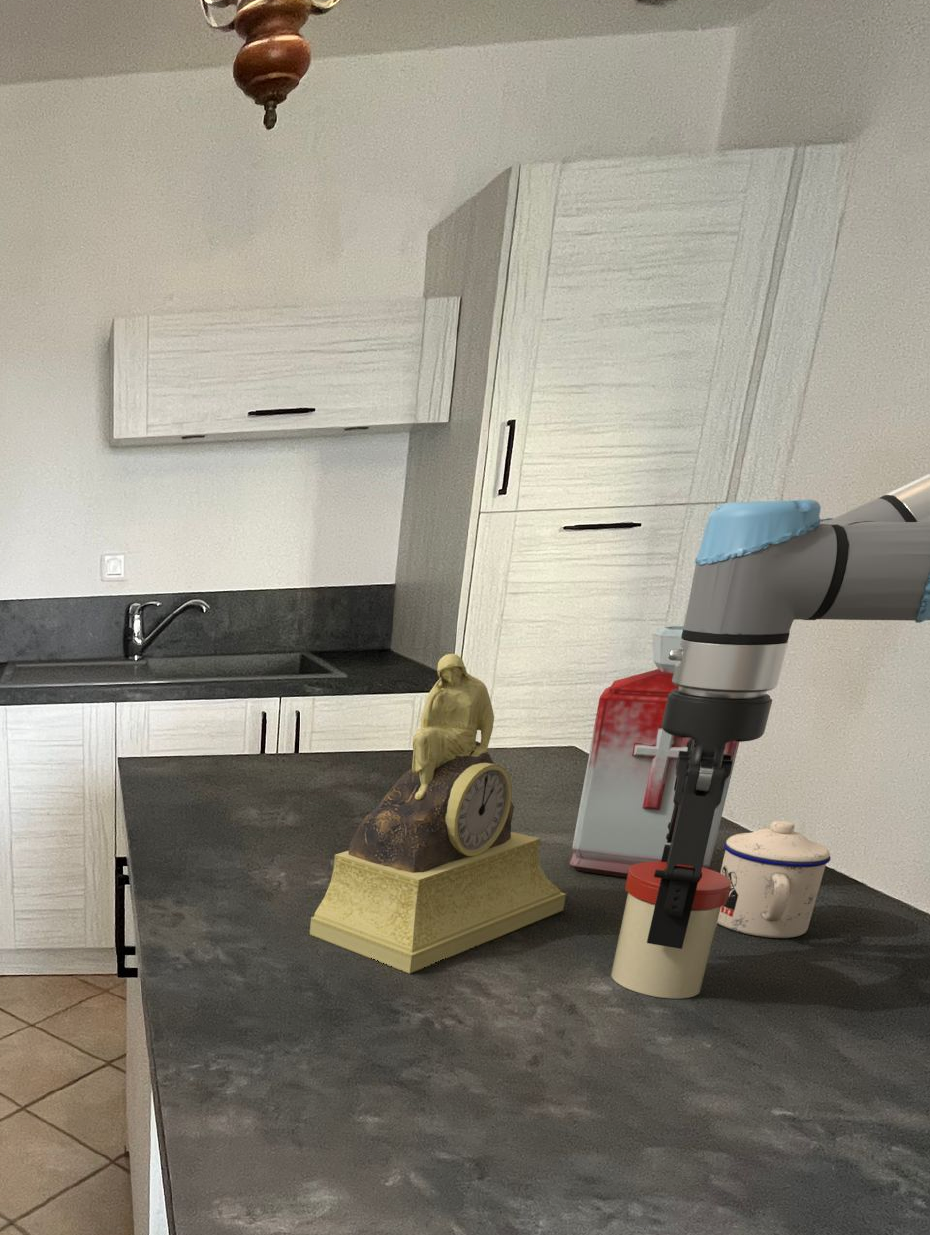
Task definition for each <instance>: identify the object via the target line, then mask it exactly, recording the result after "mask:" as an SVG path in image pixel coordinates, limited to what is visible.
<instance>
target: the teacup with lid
mask: <svg viewBox="0 0 930 1235" xmlns="http://www.w3.org/2000/svg"><path fill="white" fill-rule="evenodd" d="M723 848H724V850H725V851H724V854H723V859H722V863H721V867H720V872H719V873H721V874H723V875H725V876H726V877H728V878H729V879H730V881H731V886H730V887H731V890H730V894H729V898H728V900H727V902H726V904H725V905H723V906H721V909H720V913H719V917H718V921H717V925H720V926H721V927H723V928H726V929H728V930H730V931H734V932H737V933H740V934H745V935H750V936H753V937H759V938H769V939H792V938H796V937H800V936H802V935H804V934H805V933H807V931H808V930H809V926H810V922H811V918H812V915H813V912H814V908H815V905H816V901H817V897H818V894H819V890H820V888H821V883H822V879H823V877H824V873H825V869H826V866H827V864H829V862H830V861H831V853H830V850H829V849H828V848H827V847H826V846H824V845H823V844H821V843H818V842H816V841H814V840H810V839H808V838H807V837H806V836H805V835H803V834H802V833H800V832H797V831H795V824H794V823H793V822H791V821H787V820H774V821H772V822H771V823H770V826H769V828H768V827H767V828H762V829H757V830H755V831H754V830H753V831H752V832H741V833H737V834H734V835H731V836H730V837H728V838H727V839H726V840H725V842H724V844H723Z"/></svg>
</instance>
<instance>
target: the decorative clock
mask: <svg viewBox="0 0 930 1235" xmlns="http://www.w3.org/2000/svg"><path fill="white" fill-rule="evenodd" d="M436 672H437V676H438V678H439V679H438V680H437V681H436V682H435V684H434V685H433V686H432V688H431V689H430V691H429V693H428V695H427V697H426V700H425V703H424V706H423V709H422V712H421V715H420V728H419V729H418V730H417V731H416V732H415V733H414V735H413V738H412V750H413V751H412V752H413V754H412V765H411V767H410V769H409V770H407V771H406V772H404V773H403V774H402V775H401V776H400V777H399V778H398V779H397V781H396V782H395V784H393V786H392V787H391V788H390V790H389V791H388V792H387V793H386V794H385V795H384V796H383V798H382V799H381V801H380V802H379V803H378V805H377V806H376V807H375V808H374V810H373V811H371V812H370V813H369V814H367V815H365V817H364V818H363V820H362V822H361V823H360V824H359V826H358V827H357V829H356V831H355V833H354V835H353V836H352V838H351V841H350V842H349V844H348V850H345V851H343V852H339V853H336V854H334V860H333V861H334V862H333V869H332V874H331V879H330V883H329V885H328V887H327V890H326V893H325V895H324V897H323V898H322V900H321V902H320V904H319V906H318V907H317V909H316V910H315V912H314V916H311V917H310V923H309V924H310V926H309V935H310V936H312V937H315V938H318V939H319V940H322V941H325V942H328V943H330V944H333V945H335V946H337V947H340V948H342V949H346V950H347V951H351V952H354V953H356V954H358V955H361V956H363V957H366V958H367V959H371V958H372V959H371V960H373V959H375V960H374V961H376V962H378V961H379V963H380V964H383V963H384V964H383V965H386V964H387V965H386V966H389V967H391V966H392V967H391V968H394V969H397V970H399V971H401V970H402V971H401V972H404V973H407V974H409V975H410V974H413V973H415V972H417V971H420V970H422V969H424V967H425V968H427V967H429V966H432V965H434V964H436V963H435V962H437V963H439V962H441V961H440V960H442V959H444V960H446V959H449V958H451V957H454V956H456V955H458V954H461V953H464V952H466V951H469V950H471V949H473V948H475V946H476V947H478V946H480V945H482V944H485V943H488V942H490V941H493V940H495V939H497V938H500V937H502V936H504V935H507V934H509V933H511V932H514V931H517V930H519V929H521V928H524V927H527V926H530V925H531V924H534V923H537V922H538V921H541V920H543V919H546V918H548V917H551V916H554V915H556V914H558V913H560V912H563V911H564V908H565V902H566V896H567V893H565V892H561V889H559V887H557V886H556V885H555V884H554V883H553V882H552V881H551V880H550V879H548V877H547V875H546V874H545V872H544V869H543V868H542V867H541V863H540V854H539V851H540V845H541V838H540V837H537V836H532V835H528V834H527V835H526V834H524V833H519V832H514V831H512V821H513V815H514V810H515V805H514V803H513V802H512V795H513V791H512V790H513V789H512V787H513V786H512V782H511V778H510V777H511V776H510V775H509V773H508V772H507V770H506V769H505V768H504V767H503V766H501V765H499V764H495V763H494V760H493V758H492V757H491V755H490V753H489V752H488V748H489V744H490V740H491V737H492V733H493V729H494V721H495V714H494V710H493V709H494V708H493V705H492V700H491V697H490V694H489V689H488V687H487V686H486V684H485V683H484V682H483V681H482V680H480V679H479V678H478V677H475V676H472V675H471V674H470V673H468V672H467V667H466V666H465V662H464V660H463V658H461V657H460V655H458V654H456V653H448V654H447V653H446V654H445V655H443V656H442V657H441V658H440V659H439V660H438V662H437V670H436ZM478 731H480V741H477V740H476V739H477V735H478ZM470 948H471V949H470ZM445 958H446V959H445ZM377 960H378V961H377ZM438 961H439V962H438ZM442 961H443V960H442ZM431 964H432V965H431Z"/></svg>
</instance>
